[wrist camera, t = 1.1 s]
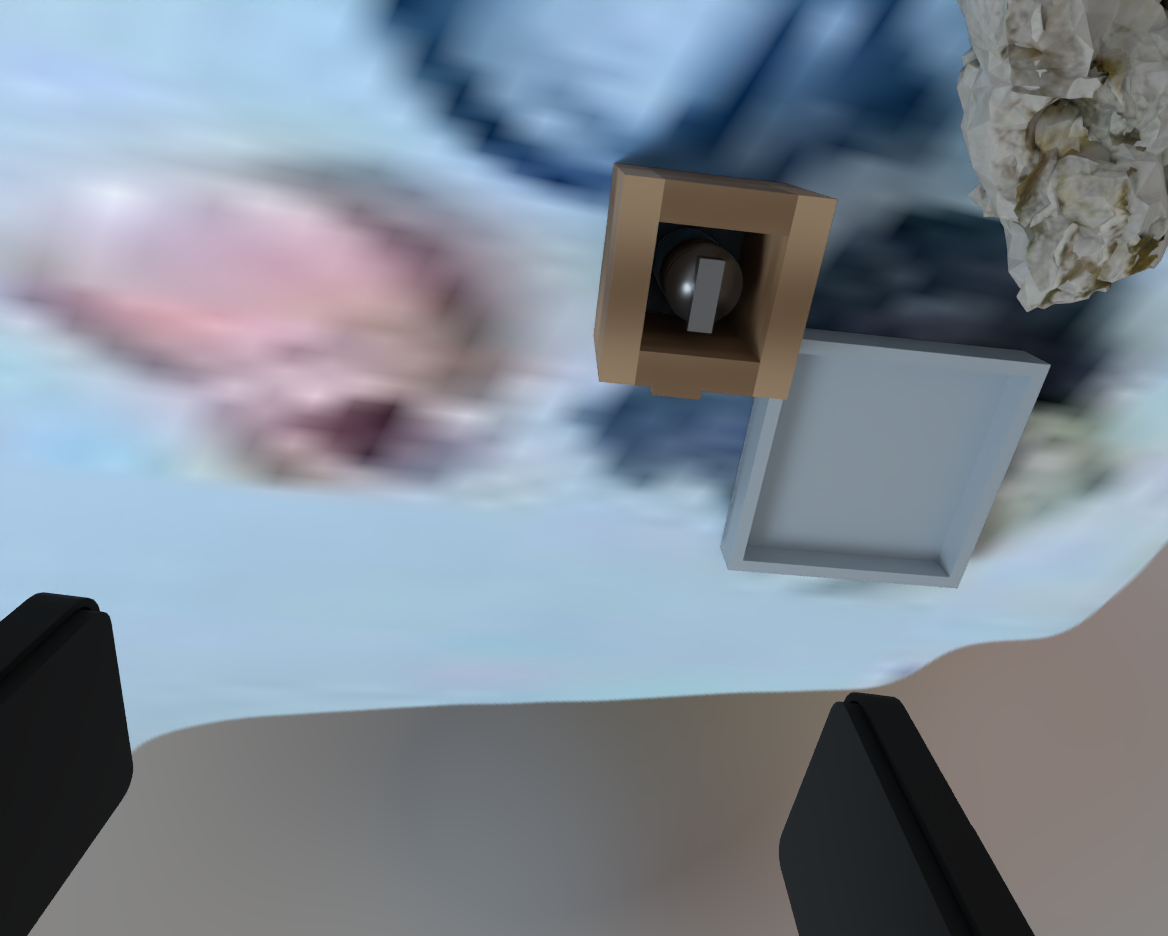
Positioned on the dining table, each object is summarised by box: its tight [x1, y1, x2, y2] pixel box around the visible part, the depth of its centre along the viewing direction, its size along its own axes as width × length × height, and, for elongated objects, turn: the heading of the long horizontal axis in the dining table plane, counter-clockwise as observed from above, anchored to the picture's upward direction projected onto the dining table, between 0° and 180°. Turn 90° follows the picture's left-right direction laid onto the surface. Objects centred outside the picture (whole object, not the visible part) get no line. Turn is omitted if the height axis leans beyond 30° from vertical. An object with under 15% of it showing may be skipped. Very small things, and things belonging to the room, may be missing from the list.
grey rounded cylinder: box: [653, 228, 743, 333], centre depth 28 cm, size 3×3×5 cm
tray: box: [720, 328, 1051, 588], centre depth 33 cm, size 12×12×2 cm
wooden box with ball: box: [594, 163, 837, 400], centre depth 27 cm, size 8×7×6 cm
